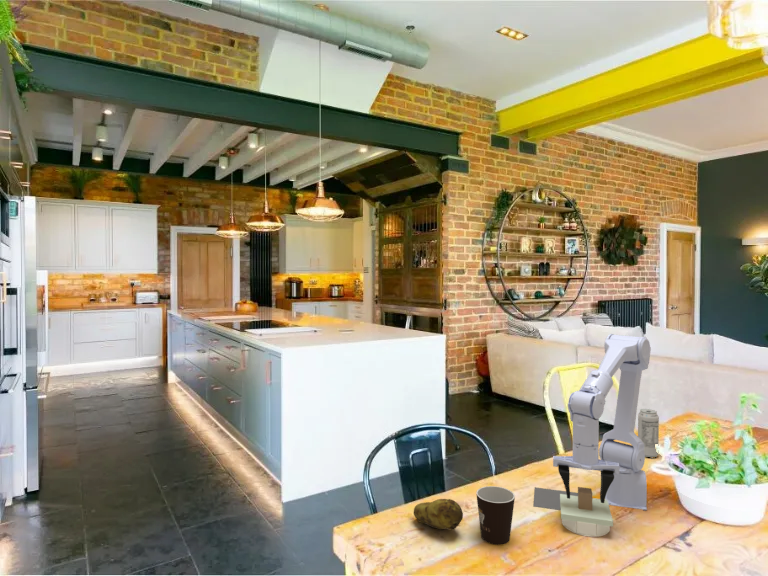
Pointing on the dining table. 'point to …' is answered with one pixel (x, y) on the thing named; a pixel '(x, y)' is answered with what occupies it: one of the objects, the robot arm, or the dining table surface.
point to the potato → (439, 514)
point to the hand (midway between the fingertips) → (585, 498)
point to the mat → (548, 498)
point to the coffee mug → (495, 513)
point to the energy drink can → (648, 431)
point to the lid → (585, 508)
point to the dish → (586, 528)
